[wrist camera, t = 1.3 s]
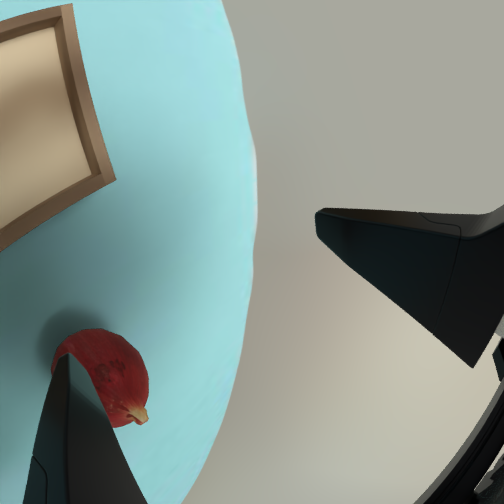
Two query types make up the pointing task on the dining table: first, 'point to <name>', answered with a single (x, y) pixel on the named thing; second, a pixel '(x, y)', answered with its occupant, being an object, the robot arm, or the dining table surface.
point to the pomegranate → (111, 373)
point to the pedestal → (45, 122)
